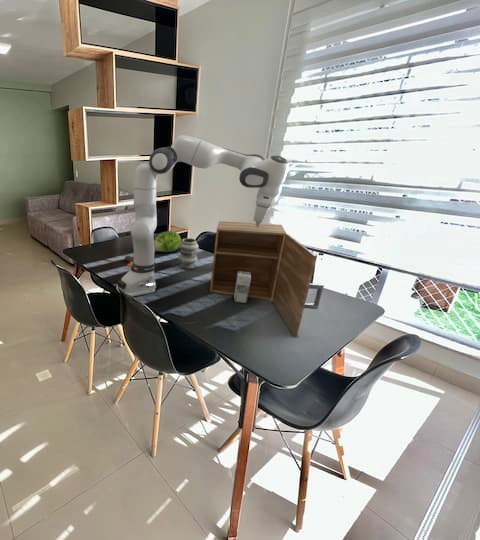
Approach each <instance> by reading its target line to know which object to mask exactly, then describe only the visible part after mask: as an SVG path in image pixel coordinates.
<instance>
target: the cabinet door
mask: <svg viewBox="0 0 480 540" xmlns="http://www.w3.org/2000/svg"><path fill="white" fill-rule="evenodd" d="M317 258H318V256H317V254H315V253H314V252H313V251H311V250H310V249H308V248H307V247H306V246H304V244H302V243H301V242H299V241H298V240H297V239H296V238H294V237H292V236H291V235H290V234H288V233H287V234H286V235H285V240H284V245H283V250H282V255H281V260H280V265H279V270H278V274H277V279H276V284H275V289H274V294H273V299H272V300H271V301H272V303H273V305H274V307H275V308H276V309H277V311H278V313H279V314H280V316H281V318H282V319H283V321H284V322H285V324H286V326H287V327H288V329H289V330H290V332H291V334H292V335H293V337H298V334H299V329H300V325H301V321H302V318H303V314H304V311H305V309H310V310H318V309H319V306H320V301H321V298H322V295H323V291H324V287H325V284H323V283H313V282H312V278H313V275H314V274H313V273H314V271H315V266H316V262H317ZM309 290H316V294H315V297H314V301H313V303H312V302H306V301H307V298H308V294H309V293H308V292H309Z"/></svg>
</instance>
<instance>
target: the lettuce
mask: <svg viewBox="0 0 480 540" xmlns="http://www.w3.org/2000/svg"><path fill="white" fill-rule="evenodd" d="M180 243H182V237H181V236H180V235H179V233H178V232H177V231H174V230H167V231H164V232H160V233H159V234H157V235H156V236H155V237H154V248H155V251H154V252H158V253H171V252H174V251H176V250H178V249H180V247H179V245H180Z"/></svg>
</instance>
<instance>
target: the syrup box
mask: <svg viewBox="0 0 480 540" xmlns="http://www.w3.org/2000/svg"><path fill="white" fill-rule="evenodd" d="M250 282H251V273H250V272H241V271H238V275H237V281H236V288H235V294H234V295H233V298H234V299H233V300H234V302H235V303H239V304H240V303H241V304H247V303H248V299H249V297H248V293H249V287H250Z"/></svg>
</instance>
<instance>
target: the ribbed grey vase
mask: <svg viewBox="0 0 480 540" xmlns="http://www.w3.org/2000/svg"><path fill="white" fill-rule="evenodd" d="M179 247H180V248H179V249H180V254H179V256H178V257H177V259H178V261H179V262H180V264H179V268H180V269H182V270H188V271H189V270H194V269H195V268H196V266H195V265H194V264H195V263H197V262H198V260H199V259H198V256H197V250H198V249H199V244H198V243H197V239H195V238H190V237H189V238H188V237H187V238H182V239H181V243H180V245H179Z"/></svg>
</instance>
